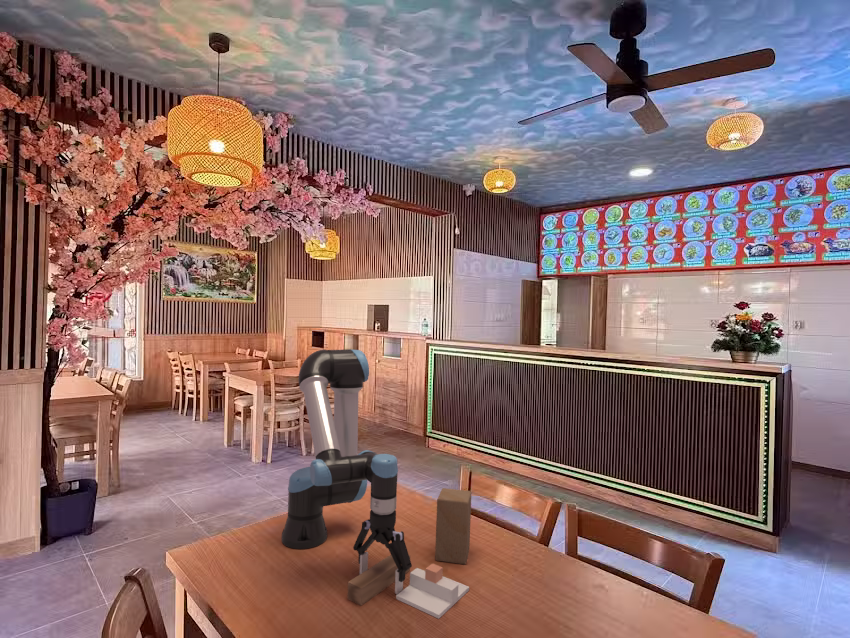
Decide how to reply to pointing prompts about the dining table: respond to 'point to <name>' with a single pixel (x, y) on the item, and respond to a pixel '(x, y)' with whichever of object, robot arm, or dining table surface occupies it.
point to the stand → (432, 591)
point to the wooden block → (453, 526)
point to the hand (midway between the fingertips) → (380, 583)
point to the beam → (372, 581)
